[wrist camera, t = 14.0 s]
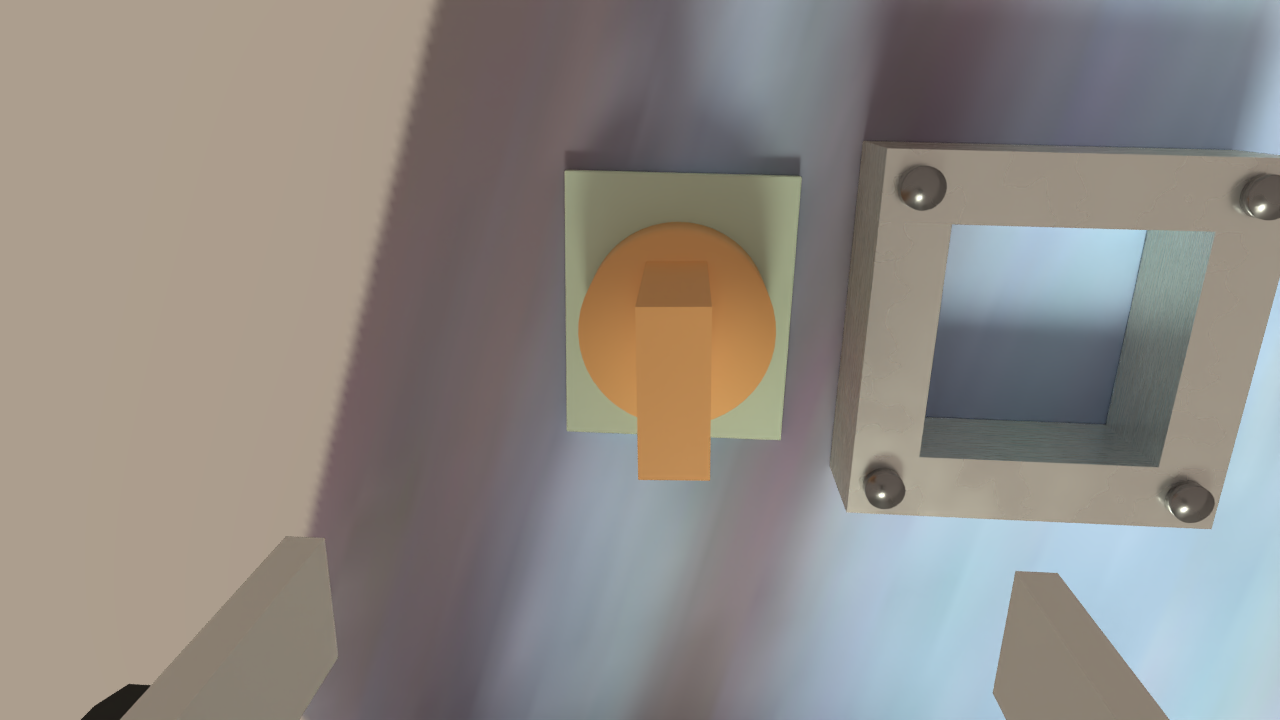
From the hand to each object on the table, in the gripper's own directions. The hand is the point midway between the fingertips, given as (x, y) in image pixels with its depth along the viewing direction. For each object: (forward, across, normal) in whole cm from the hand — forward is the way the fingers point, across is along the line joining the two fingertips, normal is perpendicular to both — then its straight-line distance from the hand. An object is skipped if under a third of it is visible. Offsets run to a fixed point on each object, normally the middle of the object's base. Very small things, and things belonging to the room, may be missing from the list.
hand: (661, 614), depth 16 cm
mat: (+23, 0, 0) cm, 23 cm away
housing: (+23, -15, 0) cm, 27 cm away
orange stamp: (+22, 0, 0) cm, 22 cm away
